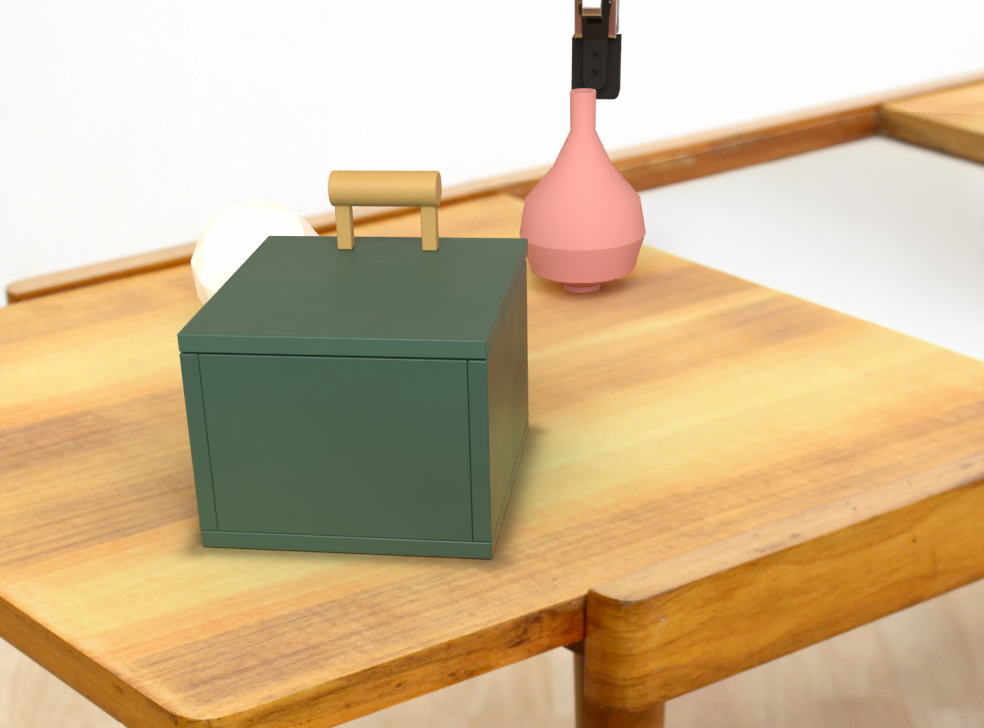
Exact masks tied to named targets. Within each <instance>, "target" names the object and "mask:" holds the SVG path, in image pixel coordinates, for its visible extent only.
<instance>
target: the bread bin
mask: <svg viewBox="0 0 984 728" xmlns="http://www.w3.org/2000/svg"><path fill="white" fill-rule="evenodd" d="M527 265H528V260H527V259H526V260H525V262H524V265H523V267H522V270H521V273H520V275H519V278H518V280H517V283H516V285H515V288H514V290H513V293H512V295H511V298H510V301H509V303H508V306H507V308H506V311H505V313H504V316H503V318H502V321H501V324H500V326H499V329H498V331H497V334H496V336H495V339H494V341H493V344H492V347H491V349H490V352H489V354H488V357H487V359H462V358H418V357H375V356H332V355H288V354H245V353H202V352H180V353H179V363H180V371H181V372H180V373H181V380H182V388H183V389H182V390H183V398H184V404H185V412H186V421H187V422H186V423H187V430H188V439H189V448H190V455H191V456H190V457H191V463H192V464H191V465H192V473H193V480H194V489H195V497H196V506H197V513H198V521H199V529H200V536H201V546H202V547H208V548H209V547H211V548H231V549H232V548H233V549H255V550H278V551H300V552H301V551H302V552H323V553H326V552H327V553H344V554H345V553H346V554H347V553H348V554H368V555H369V554H370V555H390V556H394V555H395V556H413V557H418V556H419V557H438V558H458V559H459V558H461V559H483V560H491V559H493V556H494V553H495V549H496V546H497V542H498V538H499V535H500V532H501V528H502V525H503V522H504V518H505V514H506V511H507V509H508V505H509V500H510V497H511V494H512V490H513V487H514V483H515V480H516V478H517V477H516V476H517V473H518V470H519V466H520V463H521V460H522V455H523V452H524V449H525V445H526V441H527V439H528V436H529V433H530V430H529V427H530V426H529V425H530V424H529V422H530V421H529V417H530V416H529V414H530V413H529V352H528V351H529V346H528V345H529V344H528V343H529V340H528V339H529V337H528V335H529V333H528V266H527Z"/></svg>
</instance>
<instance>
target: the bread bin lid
mask: <svg viewBox="0 0 984 728" xmlns="http://www.w3.org/2000/svg"><path fill="white" fill-rule="evenodd" d="M327 181H328V183H327V194H328V201H329V203H330V205H331V206H332V207H334V215H335V216H334V217H335V230H336V235H328V236H327V235H319V236H268V237H267V238H266V239H265V240H264V241H263V242H262V243H261V245H260V246H259V247H258V248H257V249H256V250H255V251H254V252H253V253H252V254H251V255H250V256H249V257H248V259H247V260H246V261H245V262H244V263H243V264H242V265H241V266H240V267H239V268H238V269H237V270H236V271H235V273H234V274H233V275H232V276H231V277H230V278H229V279H228V280H227V281H226V282H225V283H224V284H223V285H222V287H221V288H220V289H219V290H218V291H217V292H216V293H215V294H214V295H213V296H212V297H211V298H210V299H209V300H208V302H207V303H206V304H205V305H204V304H203V306H202V307H201V308H200V309H199V310H198V311H197V312H196V313H195V314H194V316H193V317H192V318H191V319H190V320H189V321H188V322H187V323H186V324H185V325H184V326H183V327H182V329H180V331H179V332H177V335H176V337H177V346H178V351H179V352H180V353H181V352H202V353H245V354H288V355H332V356H375V357H418V358H462V359H487V357H488V354H489V352H490V349H491V347H492V344H493V341H494V339H495V336H496V334H497V331H498V329H499V326H500V324H501V321H502V318H503V316H504V313H505V311H506V308H507V306H508V303H509V301H510V298H511V295H512V293H513V290H514V288H515V285H516V283H517V280H518V278H519V275H520V273H521V270H522V267H523V265H524V262H525V260H526V261H527V255H528V239H527V238H521V237H451V236H449V237H446V236H445V237H442V236H441V237H439V236H440V235H439V234H440V232H439V206H440V204H441V201H442V194H443V193H442V192H443V191H442V190H443V189H442V187H443V185H442V176H441V173H440V171H439V170H345V169H344V170H343V169H342V170H340V169H339V170H336V169H335V170H334V169H333V170H331V171H330V173H329V175H328V180H327ZM353 207H378V208H379V207H380V208H381V207H383V208H385V207H386V208H387V207H388V208H391V207H393V208H394V207H396V208H399V207H400V208H401V207H402V208H403V207H405V208H419V209H420V231H421V234H420V235H421V236H355V227H354V226H355V225H354V211H353Z"/></svg>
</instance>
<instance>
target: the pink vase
mask: <svg viewBox="0 0 984 728" xmlns="http://www.w3.org/2000/svg"><path fill="white" fill-rule="evenodd" d="M596 119H597V99H596V90H594V89H588V88H580V89H573V90H571V89H570V91H569V125H570V126H569V127H570V128H569V132H568V134H567V136H566V138H565V140H564V142H563V144H562V146H561V148H560V151H559V153H558V155H557V156H556V158H555V160H554V162H553V165H552V166H551V168H550V169H549V170H548V171H547V172H546V173H545V175H544V176H542V178H541V179H540V180H539V181H538V182H537V184H536V185H535V186H534V187H533V188H532V189H531V190H530V192H529V193H528V194H527V195H526V196H525V197H524V204H523V208H522V209H523V210H522V214H521V222H520V227H519V233H518V234H519V238H527V239H528V255H527V257H526V261H527V264H528V267H529V270H530V271H531V273H532V274H534V275H535V276H537V277H539V278H540V279H545V280H547V281H551V282H554V283H558V284H560V285H563V289H564V290H565V291H566V292H570V293H577V294H586V293H593V292H597V291H598V290H600V289H601V286H602V285H603V284H605V283H609V282H611V281H616V280H618V279H621V278H624V277H627V276H628V275H630V274H631V273H633V272H634V269H635V268H636V265H637V261H638V258H639V254H640V252H641V248H642V245H643V243H644V242H643V241H644V240H645V236H646V232H647V230H646V225H645V219H644V212H643V207H642V206H643V205H642V199H641V196H640V194H639V193H638V192H637V191H636V189H635V188H634V187H633V186H632V184H630V183H629V181H627V179H626V178H625V177H624V176H623V175H622V174H621V173H620V172H619V170H618V169H617V168H616V167H615V166H614V165H613V163H612V161H611V159H610V157H609V155H608V152H607V151H606V148H605V146H604V145H603V143H602V141H601V139H600V136H599V134H598V133H597V129H596V125H597V122H596V121H597V120H596Z"/></svg>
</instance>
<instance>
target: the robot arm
mask: <svg viewBox="0 0 984 728" xmlns="http://www.w3.org/2000/svg"><path fill="white" fill-rule="evenodd" d="M620 6H621V0H574V33H573V34H572V35H573V36H572V37H571V86H570V87H571V88H570V91H571V90H573V89H580V88H588V89H594V90H596V100H616V99H618V98H619V95H620V93H621V92H620V91H621V78H622V75H621V74H622V41H623V40H622V38H623V37H622V35H623V33H619V31H620V12H621V11H620V8H621V7H620Z"/></svg>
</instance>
